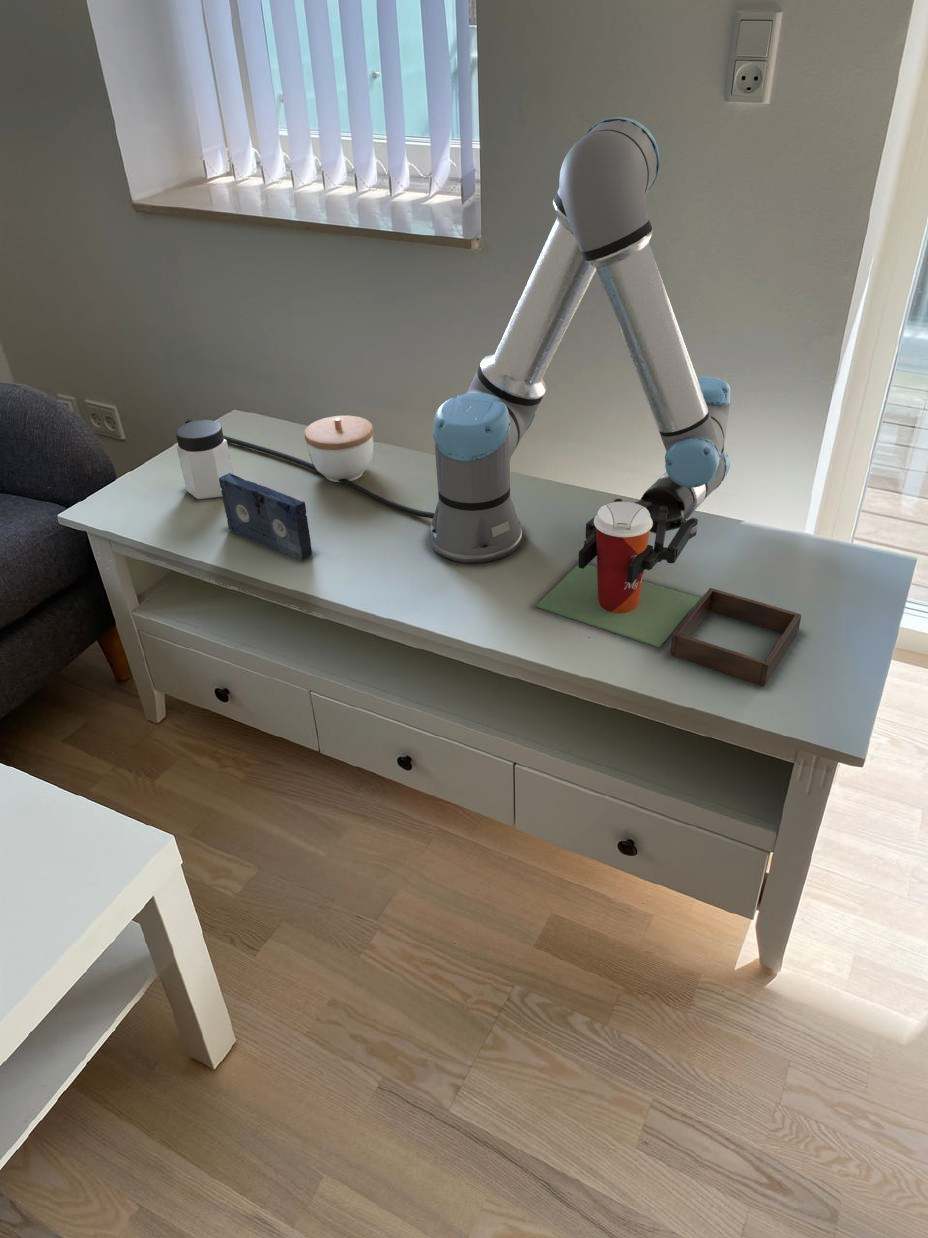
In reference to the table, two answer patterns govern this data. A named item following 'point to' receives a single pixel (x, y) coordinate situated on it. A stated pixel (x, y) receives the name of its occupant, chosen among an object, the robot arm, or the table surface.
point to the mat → (644, 623)
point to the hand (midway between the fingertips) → (605, 567)
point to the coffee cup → (620, 553)
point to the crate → (727, 658)
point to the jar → (203, 457)
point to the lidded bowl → (340, 446)
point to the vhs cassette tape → (266, 516)
